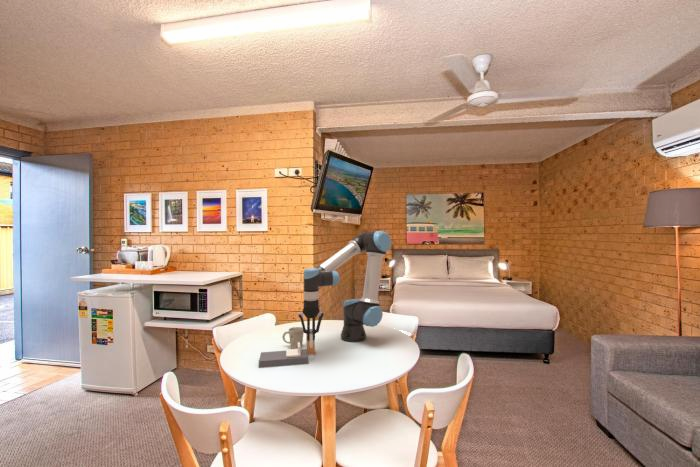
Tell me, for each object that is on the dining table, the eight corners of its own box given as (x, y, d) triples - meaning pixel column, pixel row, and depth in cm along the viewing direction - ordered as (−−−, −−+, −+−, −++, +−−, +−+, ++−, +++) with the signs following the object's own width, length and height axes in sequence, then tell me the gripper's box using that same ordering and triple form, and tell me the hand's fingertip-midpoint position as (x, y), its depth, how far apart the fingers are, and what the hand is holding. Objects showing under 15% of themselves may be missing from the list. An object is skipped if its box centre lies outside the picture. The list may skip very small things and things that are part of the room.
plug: (314, 351, 173) (314, 328, 173) (315, 354, 168) (314, 331, 169) (306, 352, 172) (305, 329, 172) (306, 355, 168) (306, 331, 168)
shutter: (299, 350, 166) (299, 341, 166) (300, 356, 157) (300, 347, 157) (286, 351, 165) (286, 342, 165) (286, 357, 156) (286, 348, 156)
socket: (306, 354, 168) (306, 348, 168) (308, 363, 156) (308, 357, 156) (261, 358, 164) (260, 352, 164) (258, 367, 152) (258, 361, 152)
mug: (300, 350, 175) (300, 331, 175) (279, 348, 178) (279, 330, 178) (306, 345, 183) (305, 327, 183) (285, 343, 186) (285, 326, 186)
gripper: (323, 297, 168) (323, 343, 167) (297, 298, 165) (297, 345, 165) (324, 300, 160) (324, 348, 160) (298, 301, 158) (298, 350, 157)
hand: (311, 346), depth 162 cm, fingers closed
